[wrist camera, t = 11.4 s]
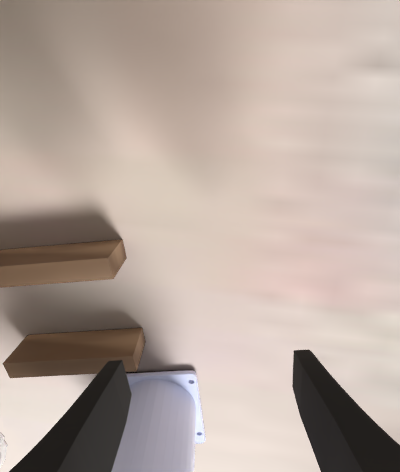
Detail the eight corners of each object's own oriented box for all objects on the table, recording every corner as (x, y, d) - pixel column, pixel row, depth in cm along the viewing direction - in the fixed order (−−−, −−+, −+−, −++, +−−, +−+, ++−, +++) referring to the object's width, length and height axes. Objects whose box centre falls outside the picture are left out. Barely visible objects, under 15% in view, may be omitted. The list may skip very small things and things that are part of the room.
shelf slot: (145, 341, 23) (136, 371, 20) (33, 348, 23) (10, 378, 21) (122, 239, 19) (107, 257, 17) (-9, 250, 20) (-44, 270, 17)
